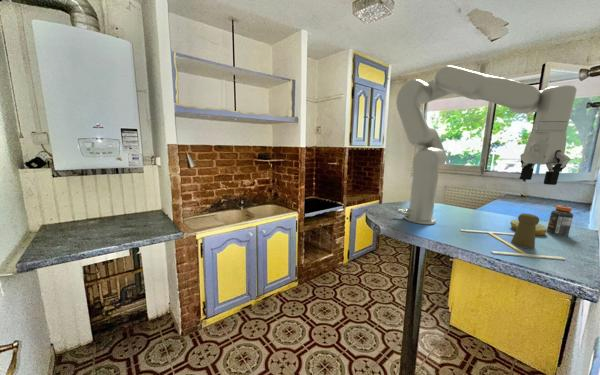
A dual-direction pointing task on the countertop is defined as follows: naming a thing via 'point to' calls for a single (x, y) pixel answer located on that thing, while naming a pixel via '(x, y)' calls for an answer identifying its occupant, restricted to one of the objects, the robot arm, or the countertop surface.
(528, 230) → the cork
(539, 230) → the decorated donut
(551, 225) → the pill bottle
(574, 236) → the countertop surface
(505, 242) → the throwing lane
